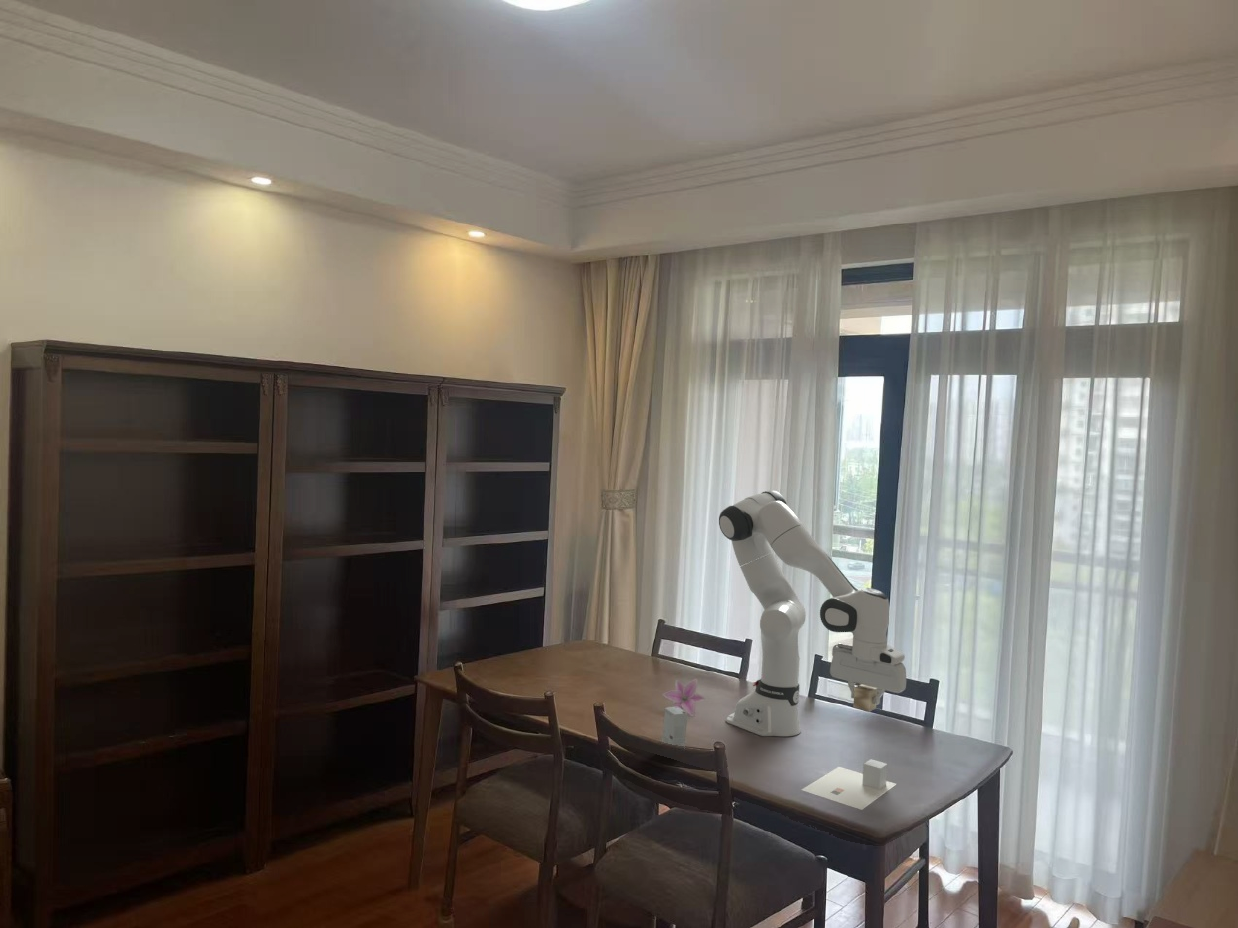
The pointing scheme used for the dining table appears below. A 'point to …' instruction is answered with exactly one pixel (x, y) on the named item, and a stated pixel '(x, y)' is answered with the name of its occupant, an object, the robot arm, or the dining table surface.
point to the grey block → (874, 774)
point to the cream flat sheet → (846, 788)
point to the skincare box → (674, 726)
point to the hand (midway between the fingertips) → (865, 700)
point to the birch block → (864, 697)
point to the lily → (685, 696)
